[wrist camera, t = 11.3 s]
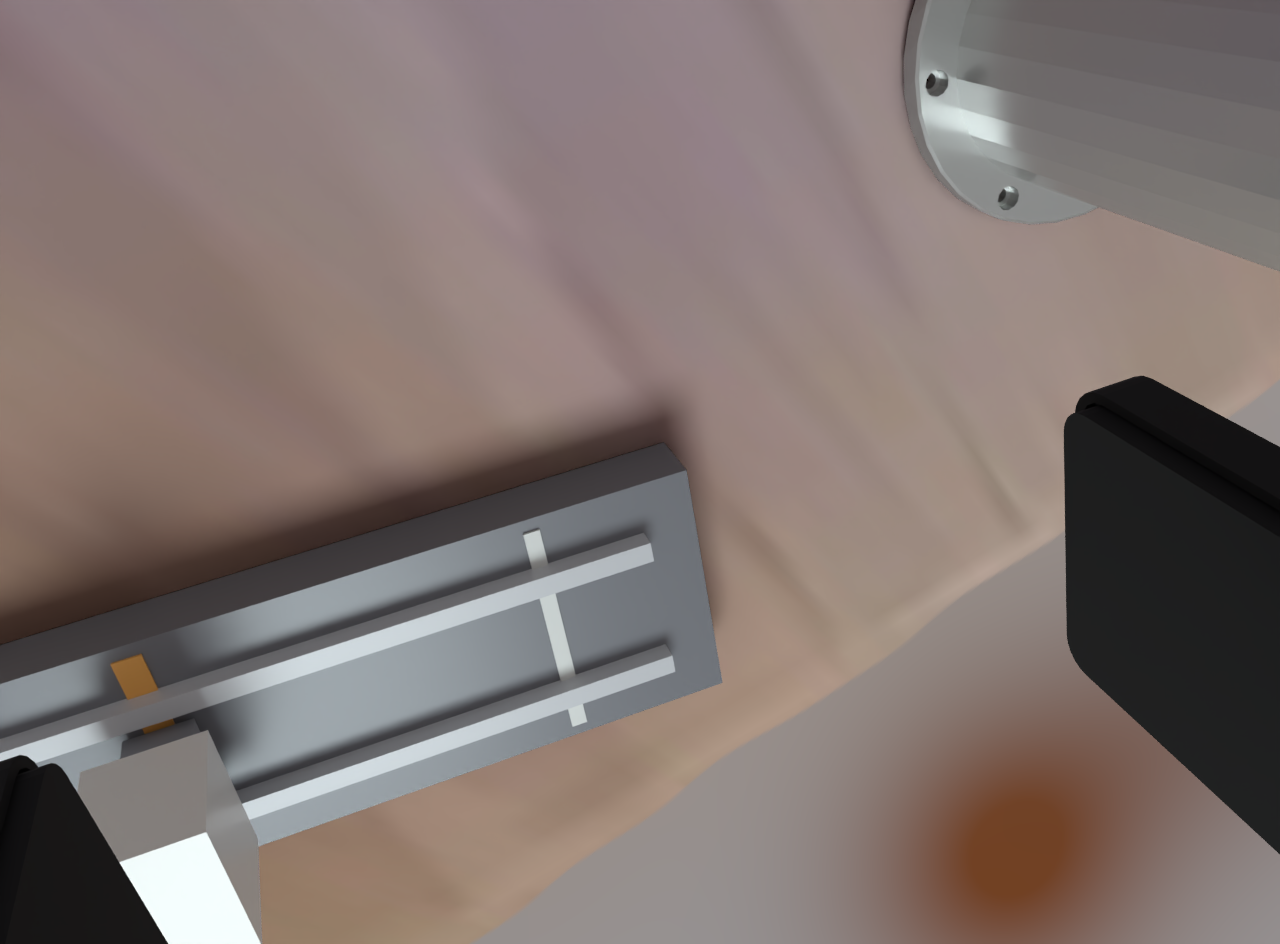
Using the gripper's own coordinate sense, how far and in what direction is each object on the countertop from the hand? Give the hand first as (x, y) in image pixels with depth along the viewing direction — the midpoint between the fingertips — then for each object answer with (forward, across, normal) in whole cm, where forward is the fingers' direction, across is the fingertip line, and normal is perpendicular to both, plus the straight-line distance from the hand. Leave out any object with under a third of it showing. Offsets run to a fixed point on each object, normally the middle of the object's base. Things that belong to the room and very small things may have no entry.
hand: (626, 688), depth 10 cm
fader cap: (+27, +13, +18) cm, 35 cm away
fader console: (+30, +7, +19) cm, 35 cm away
